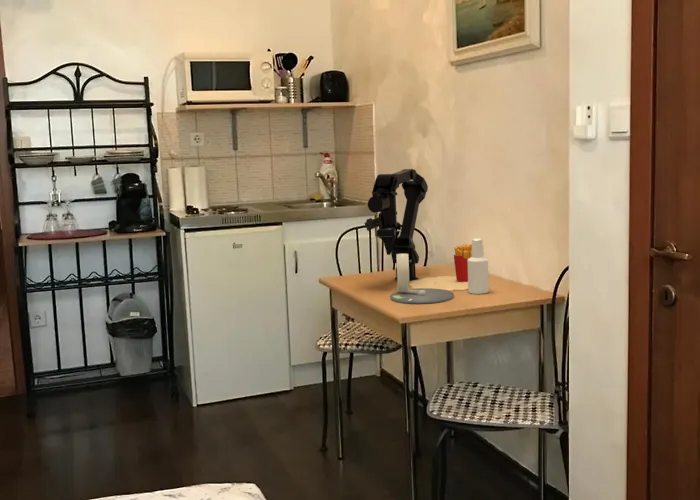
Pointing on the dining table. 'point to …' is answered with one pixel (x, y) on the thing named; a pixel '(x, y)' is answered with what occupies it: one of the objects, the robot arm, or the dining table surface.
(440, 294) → the grey round platter
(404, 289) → the tall cream cylinder
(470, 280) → the spray bottle
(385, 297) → the dining table surface
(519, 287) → the dining table surface
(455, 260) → the french fries
